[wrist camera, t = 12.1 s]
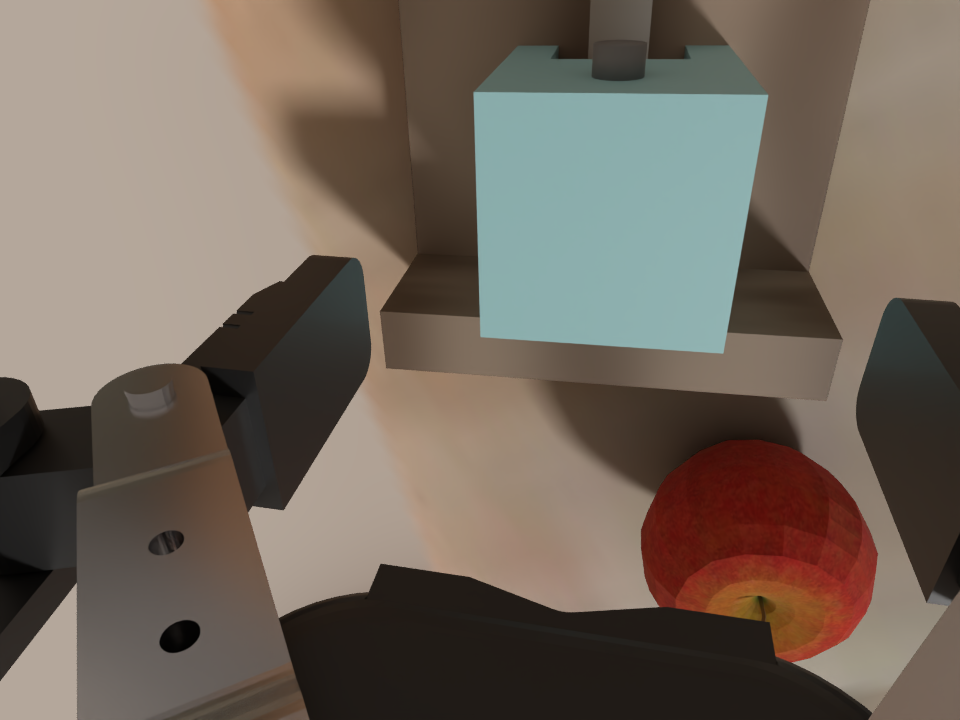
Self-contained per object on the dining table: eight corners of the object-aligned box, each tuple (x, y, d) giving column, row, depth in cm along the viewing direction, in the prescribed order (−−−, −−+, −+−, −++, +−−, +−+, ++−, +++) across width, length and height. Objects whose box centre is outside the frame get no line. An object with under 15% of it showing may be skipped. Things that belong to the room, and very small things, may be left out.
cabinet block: (733, 18, 20) (775, 57, 14) (700, 245, 23) (723, 353, 17) (518, 19, 21) (472, 56, 15) (517, 237, 24) (480, 337, 18)
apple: (787, 567, 32) (827, 736, 25) (615, 515, 32) (610, 668, 25) (879, 435, 27) (956, 596, 21) (681, 376, 28) (695, 516, 21)
